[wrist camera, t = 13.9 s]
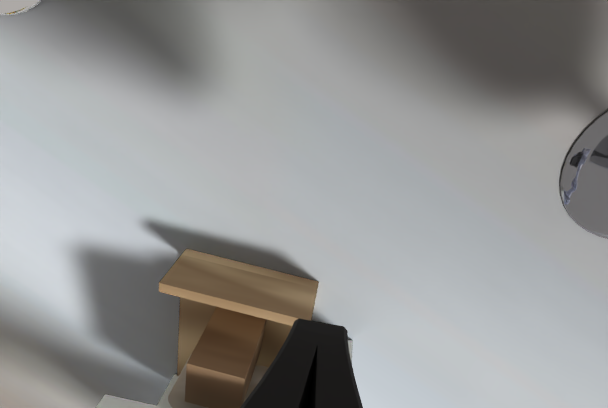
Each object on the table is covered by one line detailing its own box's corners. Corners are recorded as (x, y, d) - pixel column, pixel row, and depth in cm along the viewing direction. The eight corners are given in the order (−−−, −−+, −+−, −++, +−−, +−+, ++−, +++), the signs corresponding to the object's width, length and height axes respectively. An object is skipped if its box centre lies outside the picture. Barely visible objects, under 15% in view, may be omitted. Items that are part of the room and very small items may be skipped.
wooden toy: (290, 392, 27) (272, 477, 22) (183, 364, 27) (141, 440, 22) (319, 277, 22) (304, 353, 17) (189, 245, 22) (137, 309, 17)
